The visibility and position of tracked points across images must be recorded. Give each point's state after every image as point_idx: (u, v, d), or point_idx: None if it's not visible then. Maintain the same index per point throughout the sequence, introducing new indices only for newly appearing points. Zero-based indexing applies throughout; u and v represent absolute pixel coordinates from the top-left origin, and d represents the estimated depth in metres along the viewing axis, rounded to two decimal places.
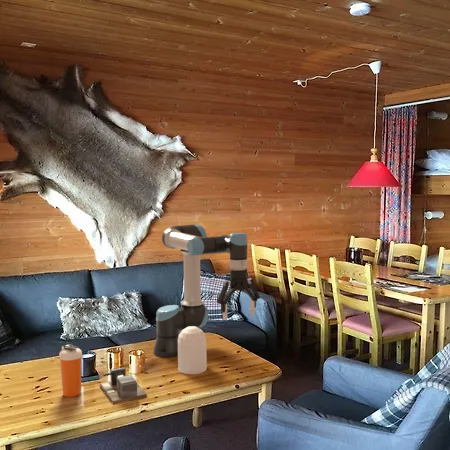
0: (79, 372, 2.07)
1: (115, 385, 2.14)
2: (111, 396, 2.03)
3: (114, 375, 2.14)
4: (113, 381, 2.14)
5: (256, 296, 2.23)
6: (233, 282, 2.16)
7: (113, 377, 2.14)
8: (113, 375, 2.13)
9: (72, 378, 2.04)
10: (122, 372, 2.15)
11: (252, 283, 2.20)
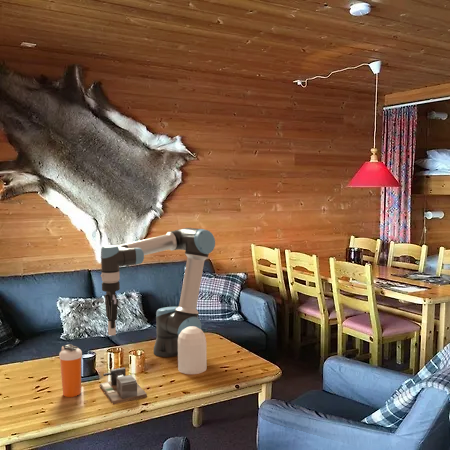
0: (79, 372, 2.07)
1: (115, 385, 2.14)
2: (111, 396, 2.03)
3: (114, 375, 2.14)
4: (113, 381, 2.14)
5: None
6: (106, 292, 2.22)
7: (113, 377, 2.14)
8: (113, 375, 2.13)
9: (72, 378, 2.04)
10: (122, 372, 2.15)
11: (111, 303, 2.15)
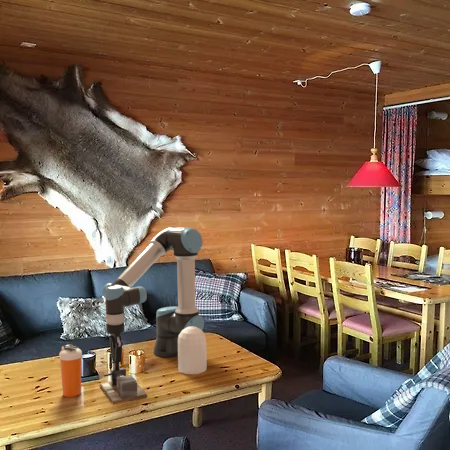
0: (79, 372, 2.07)
1: (115, 385, 2.14)
2: (111, 396, 2.03)
3: (114, 375, 2.13)
4: (113, 381, 2.13)
5: None
6: (110, 333, 2.18)
7: (113, 377, 2.13)
8: (113, 375, 2.13)
9: (72, 378, 2.04)
10: (122, 372, 2.15)
11: (116, 346, 2.11)
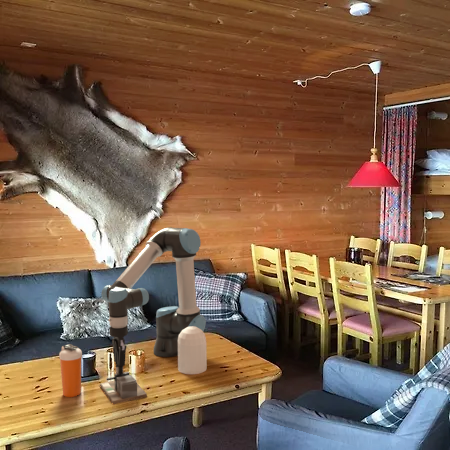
0: (79, 372, 2.07)
1: None
2: (111, 396, 2.03)
3: None
4: None
5: None
6: (114, 337, 2.14)
7: None
8: None
9: (72, 378, 2.04)
10: None
11: (119, 349, 2.07)
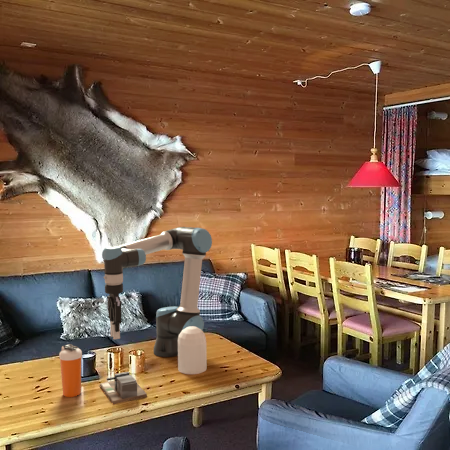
0: (79, 372, 2.07)
1: None
2: (111, 396, 2.03)
3: None
4: None
5: None
6: (109, 295, 2.17)
7: None
8: None
9: (72, 378, 2.04)
10: None
11: (115, 305, 2.10)
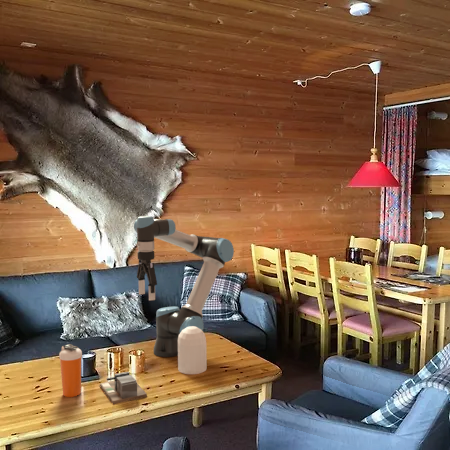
0: (79, 372, 2.07)
1: None
2: (111, 396, 2.03)
3: None
4: None
5: None
6: (141, 261, 2.31)
7: None
8: None
9: (72, 378, 2.04)
10: None
11: (148, 267, 2.22)
